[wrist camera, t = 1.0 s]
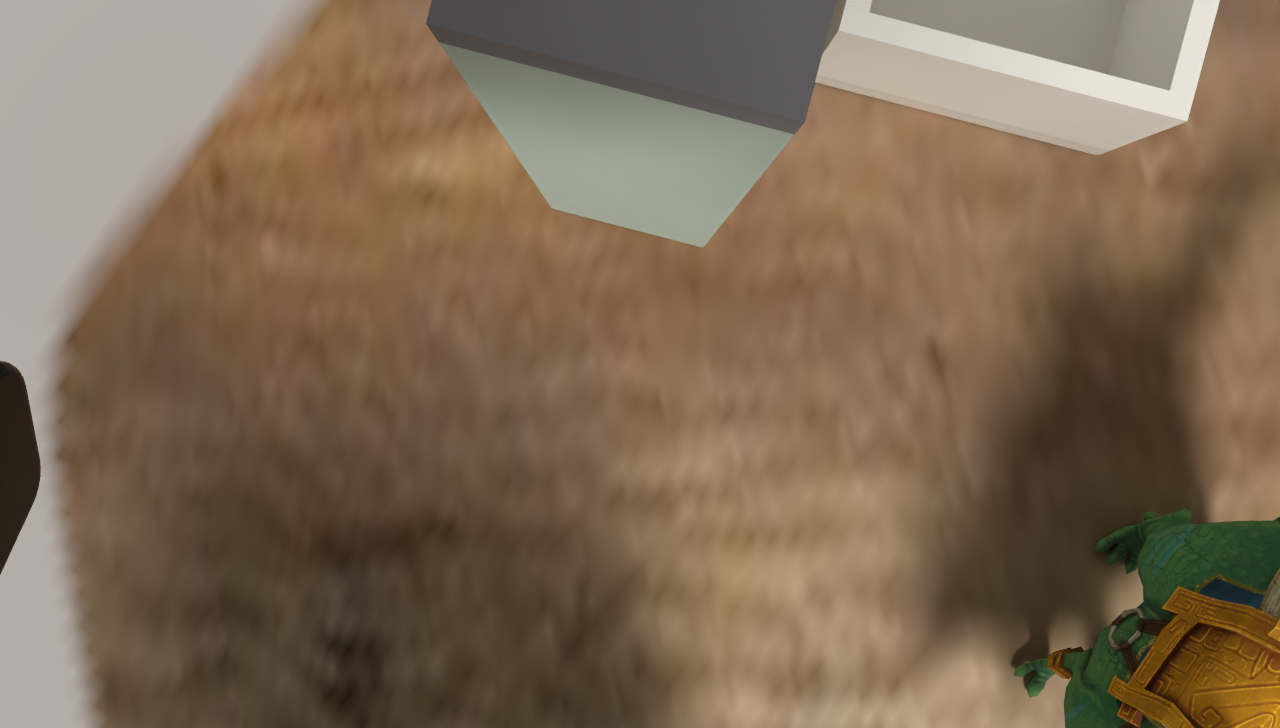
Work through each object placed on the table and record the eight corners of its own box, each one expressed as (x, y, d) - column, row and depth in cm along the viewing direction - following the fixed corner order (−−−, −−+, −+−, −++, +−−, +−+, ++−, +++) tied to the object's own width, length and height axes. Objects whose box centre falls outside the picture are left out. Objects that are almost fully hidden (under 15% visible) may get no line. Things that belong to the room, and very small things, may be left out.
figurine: (903, 779, 24) (1046, 1016, 15) (1268, 278, 23) (1609, 250, 15) (1031, 869, 24) (1240, 1154, 16) (1396, 371, 23) (1803, 394, 15)
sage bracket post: (703, 247, 23) (803, 122, 9) (552, 208, 23) (425, 23, 9) (741, 95, 23) (904, -262, 9) (590, 56, 23) (522, -363, 9)
